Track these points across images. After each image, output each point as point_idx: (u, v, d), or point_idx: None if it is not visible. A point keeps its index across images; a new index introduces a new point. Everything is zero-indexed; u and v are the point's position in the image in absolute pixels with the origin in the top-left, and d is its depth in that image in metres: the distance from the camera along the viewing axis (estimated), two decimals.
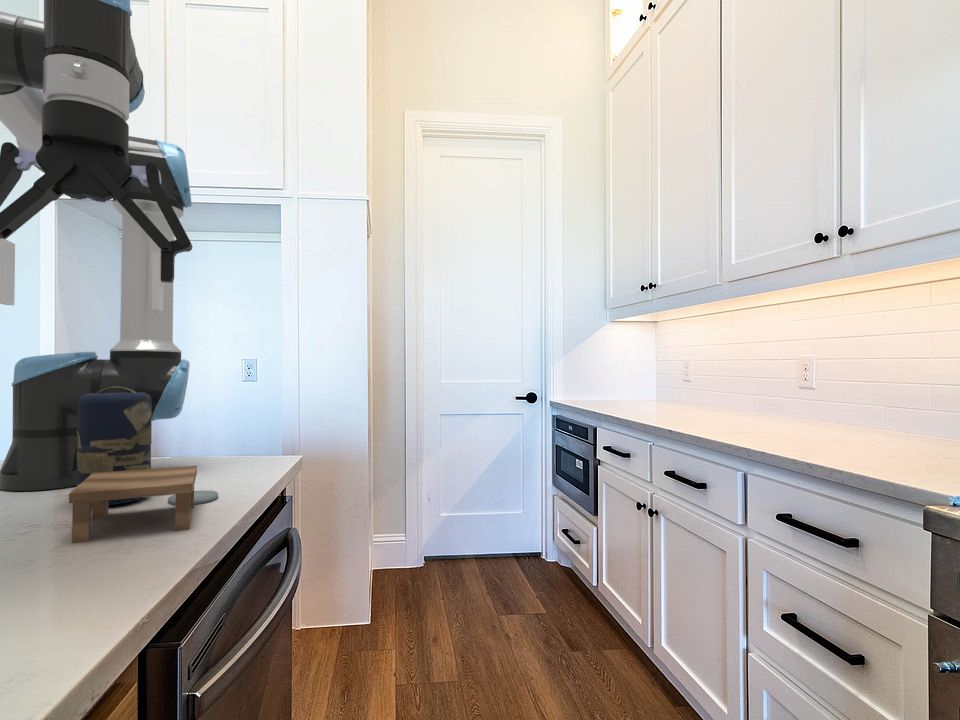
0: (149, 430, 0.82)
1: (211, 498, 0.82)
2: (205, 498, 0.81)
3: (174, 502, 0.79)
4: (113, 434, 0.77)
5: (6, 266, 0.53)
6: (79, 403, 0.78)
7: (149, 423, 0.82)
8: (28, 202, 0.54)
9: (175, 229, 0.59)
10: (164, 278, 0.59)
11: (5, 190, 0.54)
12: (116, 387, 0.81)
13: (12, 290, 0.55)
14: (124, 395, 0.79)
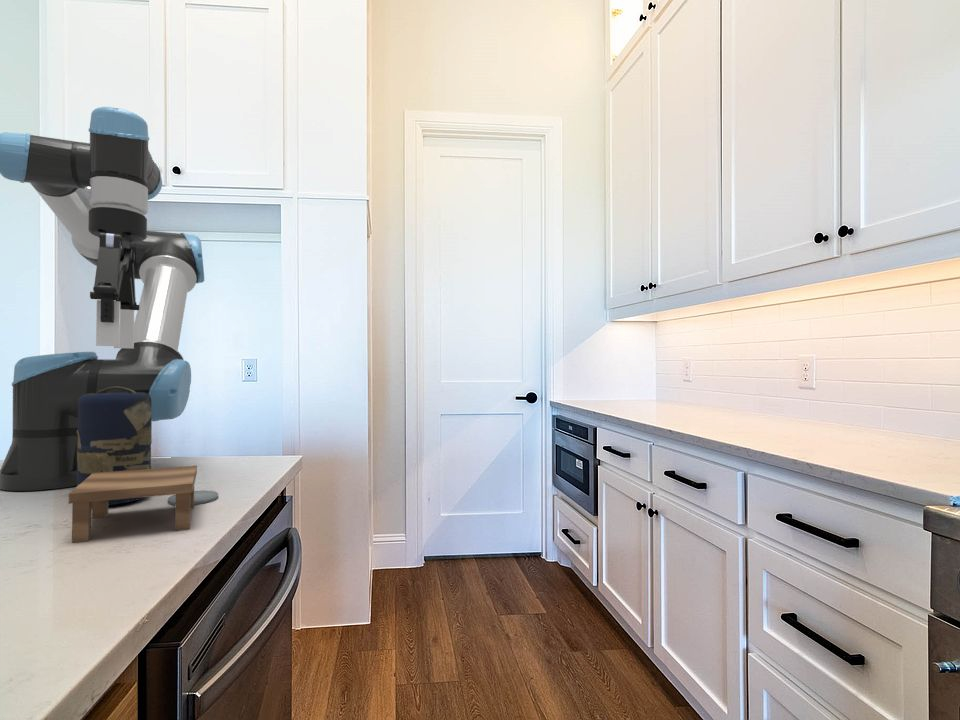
0: (149, 430, 0.82)
1: (211, 498, 0.82)
2: (205, 498, 0.81)
3: (174, 502, 0.79)
4: (113, 434, 0.77)
5: None
6: (79, 403, 0.78)
7: (149, 423, 0.82)
8: None
9: None
10: None
11: None
12: (116, 387, 0.81)
13: (128, 339, 0.87)
14: (124, 395, 0.79)
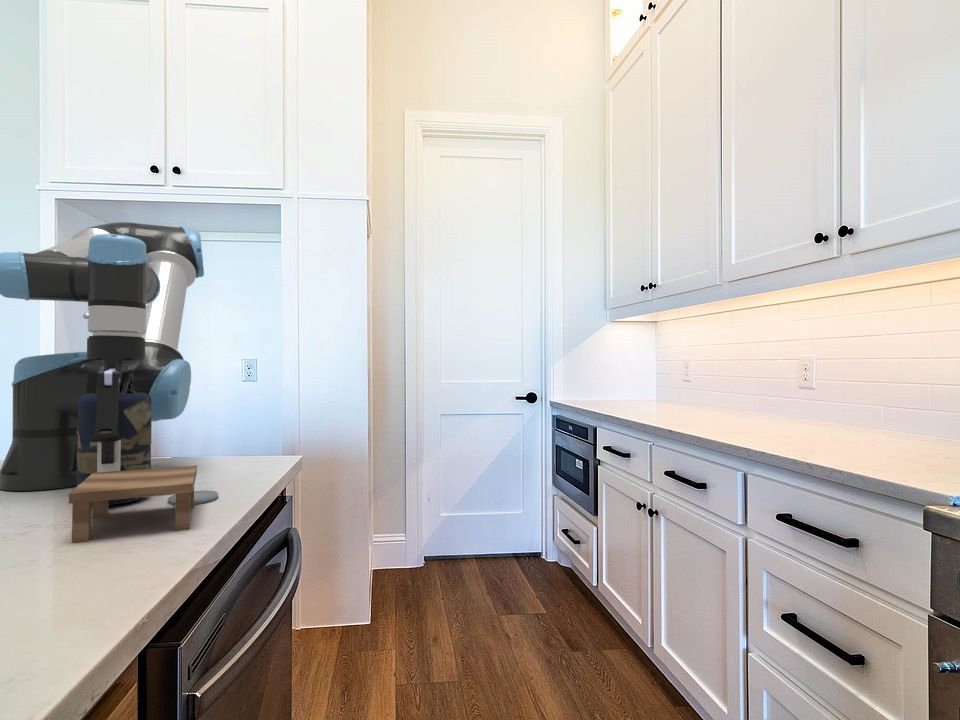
0: (149, 430, 0.82)
1: (211, 498, 0.82)
2: (205, 498, 0.81)
3: (174, 502, 0.79)
4: None
5: None
6: (79, 403, 0.78)
7: (149, 423, 0.82)
8: None
9: None
10: None
11: None
12: None
13: None
14: (124, 395, 0.79)
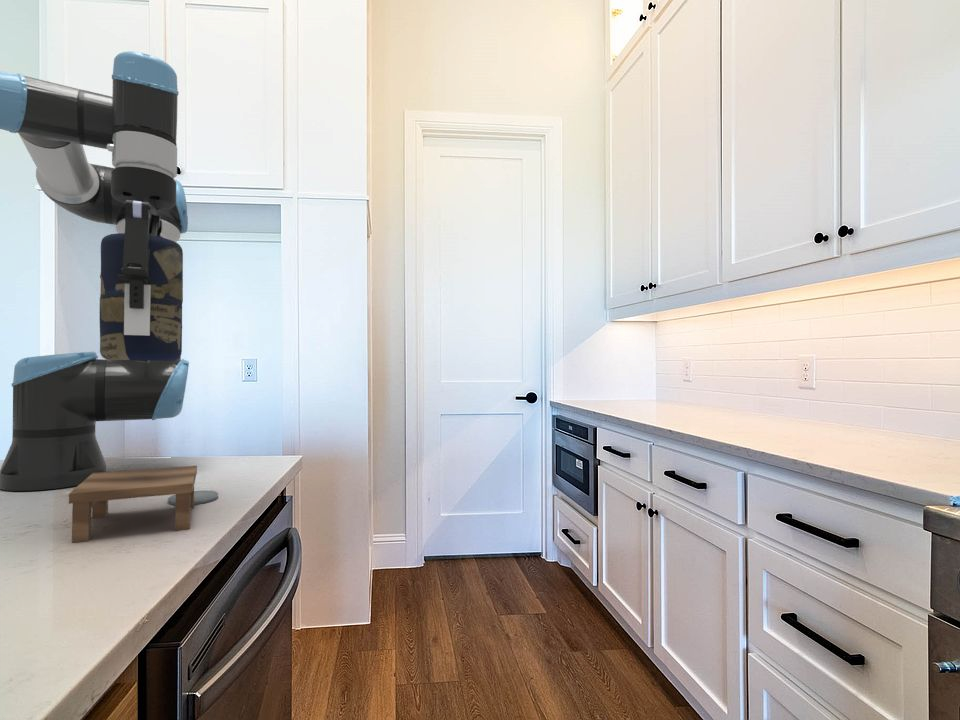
0: (181, 284, 0.72)
1: (211, 498, 0.82)
2: (205, 498, 0.81)
3: (174, 502, 0.79)
4: None
5: None
6: (102, 243, 0.67)
7: (181, 276, 0.72)
8: None
9: None
10: None
11: None
12: None
13: None
14: (154, 236, 0.69)
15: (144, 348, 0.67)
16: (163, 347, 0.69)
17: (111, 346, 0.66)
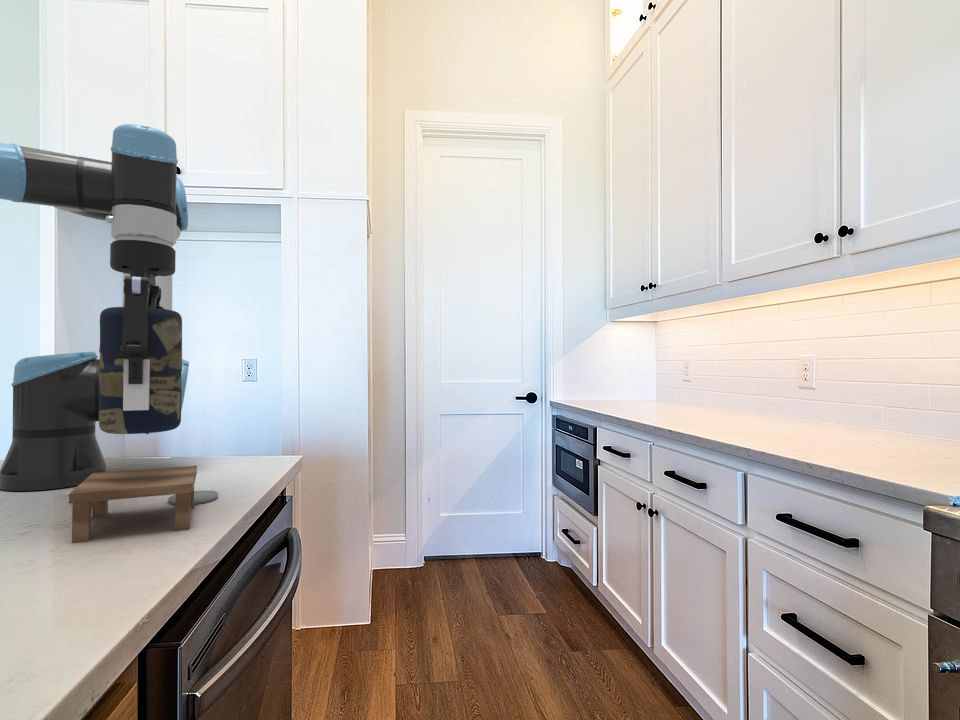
0: (180, 353, 0.72)
1: (211, 498, 0.82)
2: (205, 498, 0.81)
3: (174, 502, 0.79)
4: None
5: None
6: (101, 316, 0.67)
7: (180, 345, 0.72)
8: None
9: None
10: None
11: None
12: None
13: None
14: (153, 308, 0.68)
15: (143, 422, 0.67)
16: (163, 419, 0.69)
17: (110, 421, 0.66)
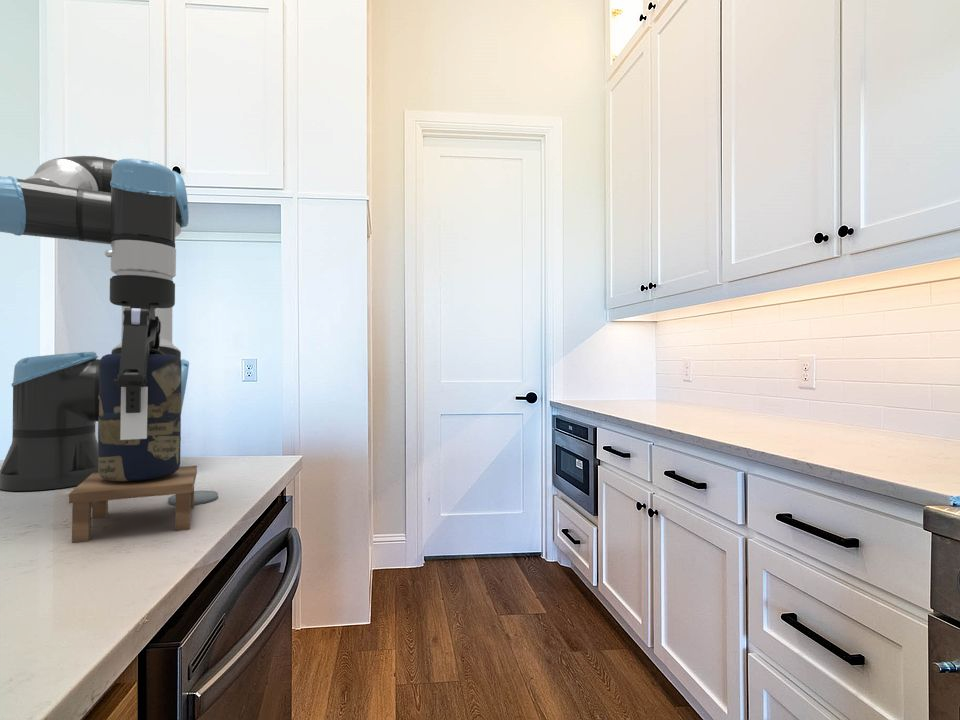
0: (179, 397, 0.72)
1: (211, 498, 0.82)
2: (205, 498, 0.81)
3: (174, 502, 0.79)
4: None
5: None
6: (101, 363, 0.68)
7: (179, 389, 0.72)
8: None
9: None
10: None
11: None
12: None
13: None
14: (152, 355, 0.69)
15: (142, 469, 0.67)
16: (162, 465, 0.69)
17: (109, 468, 0.66)
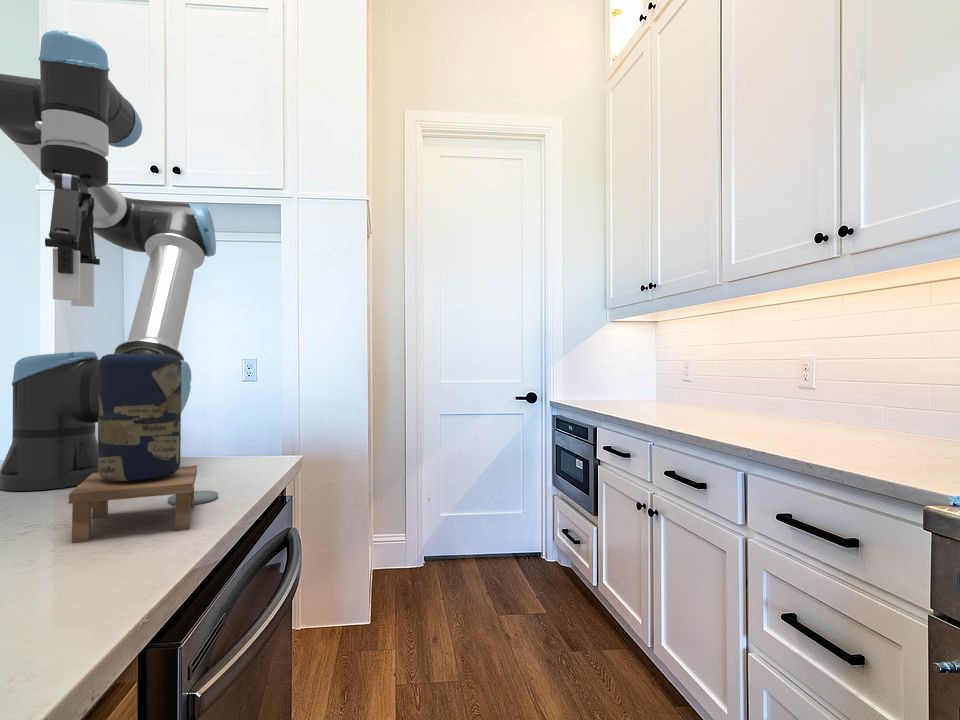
0: (179, 397, 0.72)
1: (211, 498, 0.82)
2: (205, 498, 0.81)
3: (174, 502, 0.79)
4: (140, 400, 0.67)
5: None
6: (101, 364, 0.68)
7: (179, 389, 0.72)
8: None
9: None
10: None
11: None
12: (142, 347, 0.71)
13: (88, 296, 0.79)
14: (152, 355, 0.69)
15: (142, 469, 0.67)
16: (162, 465, 0.69)
17: (109, 468, 0.66)
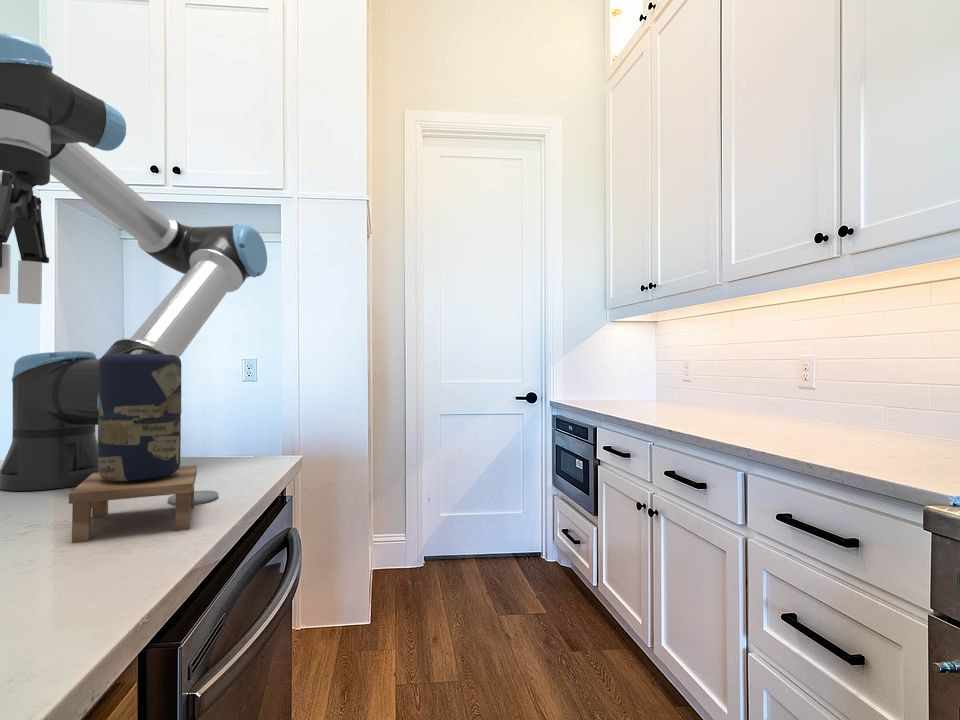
0: (179, 397, 0.72)
1: (211, 498, 0.82)
2: (205, 498, 0.81)
3: (174, 502, 0.79)
4: (140, 400, 0.67)
5: (23, 278, 0.80)
6: (101, 364, 0.68)
7: (179, 389, 0.72)
8: None
9: None
10: None
11: None
12: (142, 347, 0.71)
13: (35, 293, 0.80)
14: (152, 355, 0.69)
15: (142, 469, 0.67)
16: (162, 465, 0.69)
17: (109, 468, 0.66)
